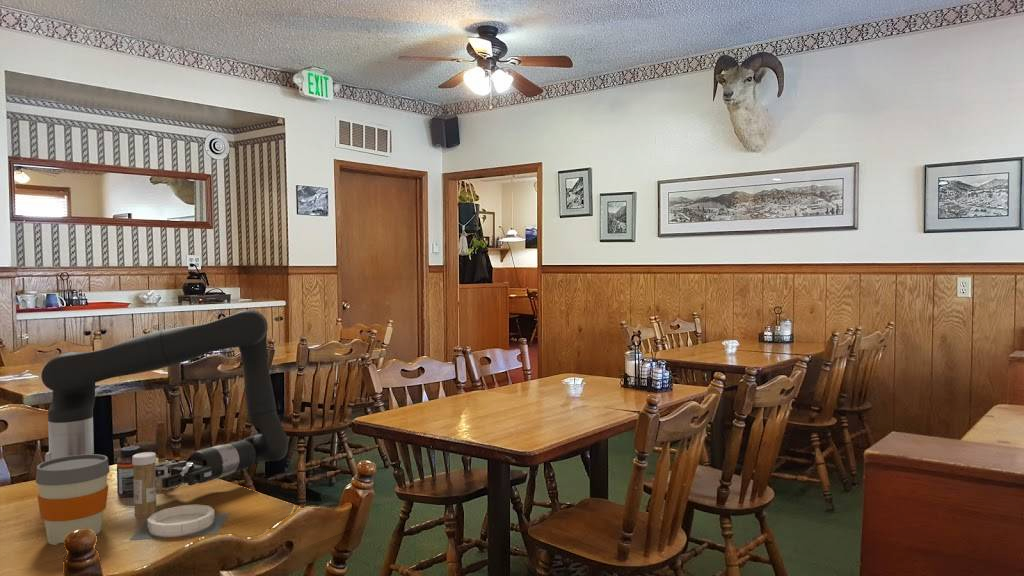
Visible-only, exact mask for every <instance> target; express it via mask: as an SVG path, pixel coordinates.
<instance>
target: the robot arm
mask: <svg viewBox="0 0 1024 576" xmlns="http://www.w3.org/2000/svg"><path fill="white" fill-rule="evenodd" d="M268 324H269V323H268V322H267V319H266V318H265V316H264V315H263V314H262V313H261V312H259V311H257V310H253V309H242V310H239V311H237V312H235V313H232V314H230V315H227V316H225V317H222V318H219V319H215V320H213V321H208V322H206V323H205V322H204V323H200V324H192V325H184V326H183V325H182V326H177V327H172V328H171V327H169V328H166V329H162V330H157V331H153V332H148V333H146V334H142V335H139V336H135V337H132V338H129V339H127V340H124V341H121V342H119V343H116V344H113V345H111V346H108V347H104V348H101V349H98V350H97V349H96V350H91V351H86V352H81V351H70V352H66V353H62V354H60V355H59V354H58V355H56V356H55V357H53V358H51V359H50V360H49V361H48V362H46V364H45V365H44V367H43V368H42V371H41V376H40V377H41V382H42V384H43V385H44V386H45V388H47V389H48V390H50V391H52V398H51V404H50V406H49V408H48V409H47V410H48V411H47V421H48V422H47V423H48V425H47V426H48V452H46V453H45V454H44V458H45V459H44V462H45V461H48V460H52V459H56V458H61V457H66V456H73V455H84V454H94V453H95V451H94V450H95V449H94V448H95V446H94V443H95V442H94V407H95V402H96V383H99V382H101V381H105V380H108V379H111V378H117V377H122V376H123V377H124V376H130V375H137V374H142V373H146V372H151V371H156V370H160V369H165V368H168V367H173V366H176V365H179V364H182V363H185V362H189V361H190V360H193V359H196V358H198V357H201V356H203V355H206V354H208V353H209V354H210V353H212V352H216V351H221V350H228V349H232V348H238V350H239V354H240V356H241V357H240V358H241V360H242V368H243V378H244V379H243V381H244V382H243V383H244V386H243V387H244V398H245V404H246V405H245V406H246V411H247V415H248V416H247V417H248V422H249V424H250V426H253V427H256V428H258V430H259V431H260V432H261V433H258V434H254V435H251V436H248V437H245V438H243V439H242V440H238V441H237V440H236V441H234V442H230V443H226V444H219V445H218V444H217V445H215V446H211V447H207V448H203V449H199V450H196V451H193V452H192V453H190V455H189V456H188V459H187V460H179V461H177V462H176V459H175V460H174V459H172V460H169V461H167V462H164V463H160V464H156V465H155V469H156V470H155V472H156V479H159V478H163V479H162V487H163V488H169V487H173V486H176V485H179V484H180V486H184V485H187V486H193V485H196V484H203V483H204V484H205V483H207V482H210V481H213V480H217V479H220V478H223V477H227V476H229V475H231V474H233V473H235V472H239V471H242V470H245V469H247V468H249V467H251V466H253V464H255V463H259V462H278V461H280V460H282V459H284V458H285V457H286V455H287V453H288V450H289V440H288V435H287V433H286V431H285V429H284V427H283V424H282V421H281V420H280V418H279V416H278V412H277V405H276V400H275V394H274V389H273V383H272V379H271V374H270V369H269V361H268V349H267V348H268V347H267V343H268V342H267V341H268V329H269V327H268V326H269V325H268ZM159 470H160V471H159ZM168 473H171V476H169V475H168Z"/></svg>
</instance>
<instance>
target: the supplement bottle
mask: <svg viewBox="0 0 1024 576" xmlns="http://www.w3.org/2000/svg"><path fill="white" fill-rule="evenodd" d="M138 453H141V446H139V445H131V446H129V445H128V446H124V447H122V448H121V449H120V457H118V459H117V460H116V482H117V483H116V484H117V488H116V489H117V490H116V491H117V497H118V498H120V499H130V498H131V499H132V498H133V499H134V484H133V478H134V470H133V468H134V467H133V464H132V457H133V455H135V454H138Z"/></svg>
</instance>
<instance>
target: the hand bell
mask: <svg viewBox="0 0 1024 576" xmlns="http://www.w3.org/2000/svg"><path fill="white" fill-rule="evenodd" d="M167 440H168V430H167V427H166V425H165V422H164V421H158V423H157V427H156V429H155V442H156V444H157V453H158V454H157V455H158V456H157V461H156V462H155V463H156V464H160V463H164V462H168V461H167V458H166V457H167V456H166V445H167V444H166V443H167ZM156 464H155V465H156ZM159 471H160V470H159ZM168 475H169V476H171V473H168ZM162 479H163V478H159V479H156V492H162V490H164V491H168V490H167V489H170V490H172V489H171V488H173V489H175V488H174V487H176V486H178V487H180V486H181V485H180V484H179V485H180V486H179V485H176V486H173V487H169V488H163V487H162ZM176 488H177V487H176Z"/></svg>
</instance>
